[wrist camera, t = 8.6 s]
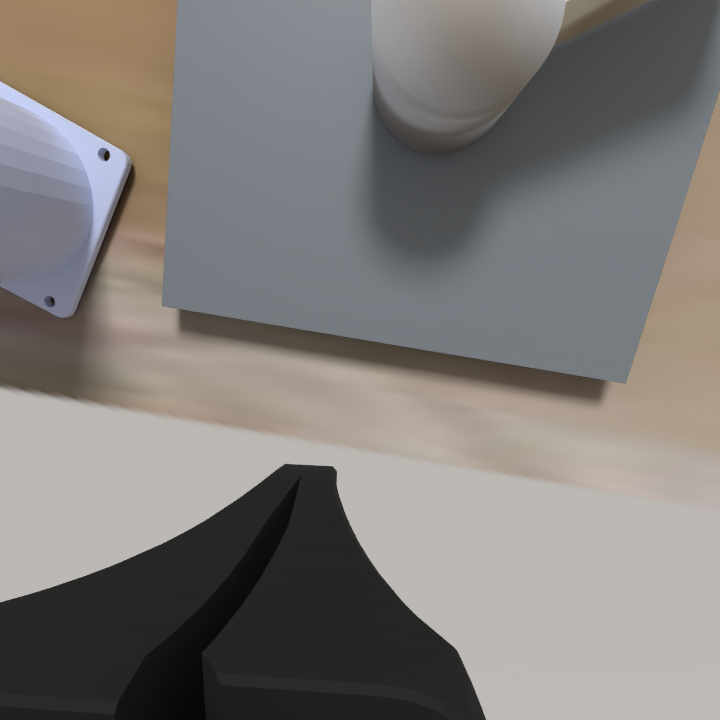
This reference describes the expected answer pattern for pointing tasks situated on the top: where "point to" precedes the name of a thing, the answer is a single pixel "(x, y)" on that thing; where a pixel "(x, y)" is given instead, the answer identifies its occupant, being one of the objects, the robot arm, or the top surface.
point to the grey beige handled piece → (466, 60)
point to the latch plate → (433, 186)
